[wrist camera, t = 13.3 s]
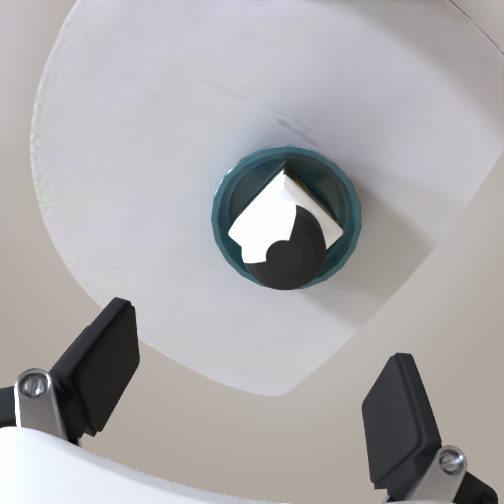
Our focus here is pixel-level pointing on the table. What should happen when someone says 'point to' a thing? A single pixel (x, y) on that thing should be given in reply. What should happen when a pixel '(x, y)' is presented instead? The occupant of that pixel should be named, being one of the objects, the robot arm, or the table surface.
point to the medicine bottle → (285, 233)
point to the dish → (307, 169)
